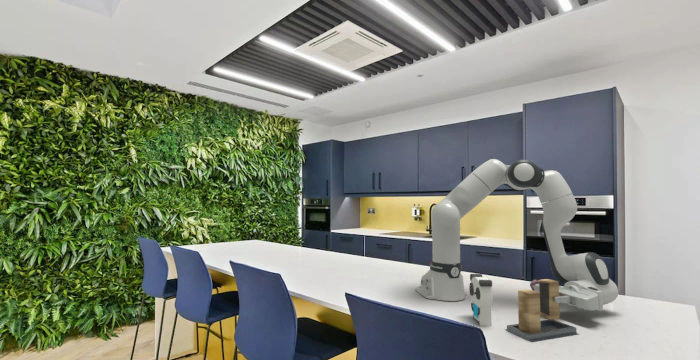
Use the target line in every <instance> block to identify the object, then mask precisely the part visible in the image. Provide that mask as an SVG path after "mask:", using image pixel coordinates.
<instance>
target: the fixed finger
mask: <svg viewBox="0 0 700 360" xmlns="http://www.w3.org/2000/svg"><path fill="white" fill-rule="evenodd" d="M517 307H518V309H517V310H518V311H517V313H518V324H519V329H520V330H522V331H524V332H526V333H535V332H541V322H540V321H541V316H540V293H539V292H536V291H533V290H532V289H527V288H525V289H519V290H517Z"/></svg>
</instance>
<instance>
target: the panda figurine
mask: <svg viewBox="0 0 700 360" xmlns="http://www.w3.org/2000/svg"><path fill="white" fill-rule="evenodd" d="M469 279H470V283H469V295H470V298H471V303H470V306H471V307H470V308H471V311H472V319H474V320H476V321H477V322H478V326H488V327H489V326H490V327H491V326H493V325H492V307H493V304H494V295H493V293H494V292H493V281H492V280H491V279H489V278H488V277H486V276H483V274H482V273H470V274H469Z"/></svg>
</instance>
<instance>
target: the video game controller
mask: <svg viewBox="0 0 700 360" xmlns="http://www.w3.org/2000/svg"><path fill="white" fill-rule="evenodd" d="M539 280H540V279H538V280H537V279H533V280H531V282H530V283H529V288H530V290H533V291H534V286H535V284H539Z"/></svg>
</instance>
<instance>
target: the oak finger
mask: <svg viewBox="0 0 700 360" xmlns="http://www.w3.org/2000/svg"><path fill="white" fill-rule="evenodd" d="M538 280H539V293H540V318H541V317H542V318H544V319H546V320H549V319H554V320H558V319H559V320H560V303H556V302H553V298H552V297H553V296H559V286H560V284H559V282H560V281H559V280H554V279H549V278H544V279H543V278H542V279H538Z"/></svg>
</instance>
